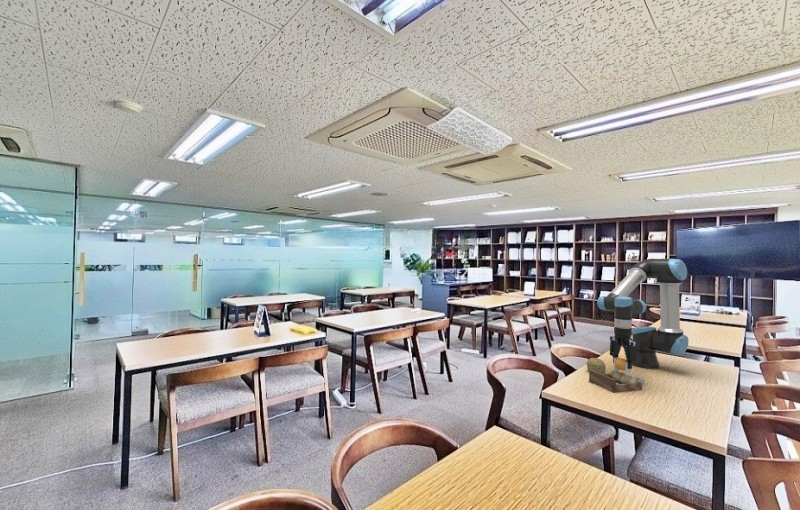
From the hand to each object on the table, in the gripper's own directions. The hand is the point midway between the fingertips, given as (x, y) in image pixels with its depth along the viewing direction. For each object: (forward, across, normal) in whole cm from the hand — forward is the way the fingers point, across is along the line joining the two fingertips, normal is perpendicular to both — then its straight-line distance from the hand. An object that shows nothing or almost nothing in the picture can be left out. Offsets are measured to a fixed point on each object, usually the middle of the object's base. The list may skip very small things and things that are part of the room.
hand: (622, 372), depth 176 cm
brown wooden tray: (+6, 0, -4) cm, 8 cm away
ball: (-4, 0, 0) cm, 4 cm away
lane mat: (+6, 0, -4) cm, 8 cm away
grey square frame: (+6, 0, +11) cm, 12 cm away
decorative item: (+6, -19, +3) cm, 20 cm away
